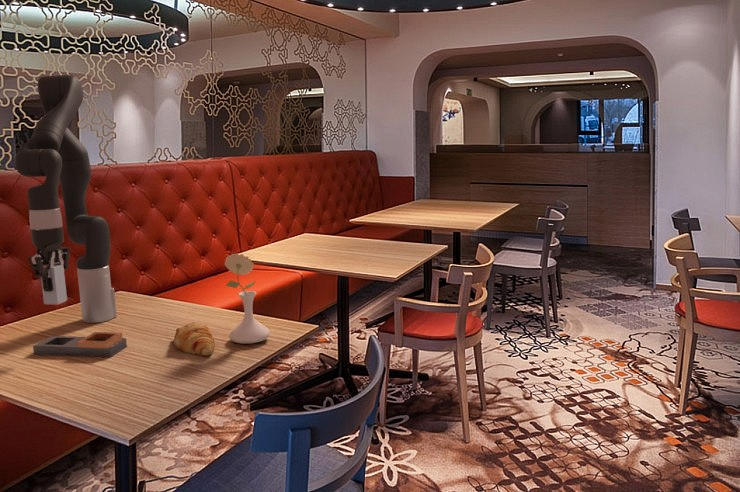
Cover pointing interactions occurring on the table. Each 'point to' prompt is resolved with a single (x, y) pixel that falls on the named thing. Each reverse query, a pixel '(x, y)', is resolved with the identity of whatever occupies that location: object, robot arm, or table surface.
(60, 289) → the peg
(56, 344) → the socket
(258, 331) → the flower in vase
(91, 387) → the table surface
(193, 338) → the croissant
